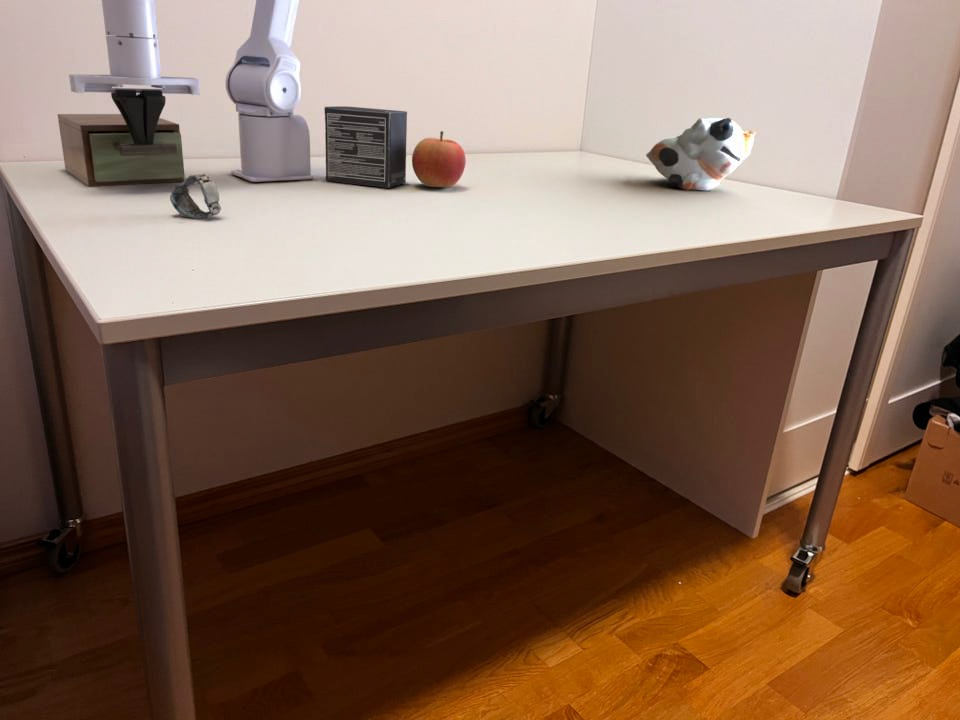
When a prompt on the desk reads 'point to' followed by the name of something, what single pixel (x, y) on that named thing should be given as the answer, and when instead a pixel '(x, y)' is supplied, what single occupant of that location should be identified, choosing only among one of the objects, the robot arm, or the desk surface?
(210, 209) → the wristwatch
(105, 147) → the drawer
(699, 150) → the lucky cat figurine
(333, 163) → the small box
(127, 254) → the desk surface
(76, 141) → the cabinet
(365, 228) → the desk surface
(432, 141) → the apple
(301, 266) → the desk surface
